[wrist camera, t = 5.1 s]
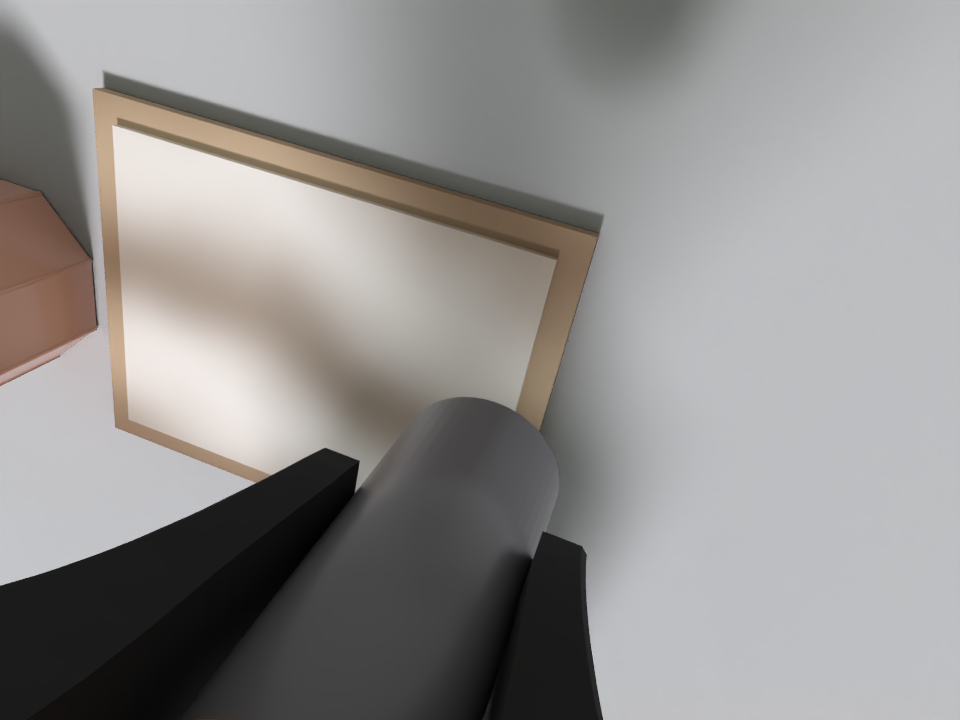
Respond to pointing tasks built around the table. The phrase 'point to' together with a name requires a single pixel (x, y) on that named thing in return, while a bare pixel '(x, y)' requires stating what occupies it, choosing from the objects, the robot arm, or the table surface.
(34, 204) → the pen cup
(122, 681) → the robot arm
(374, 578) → the marker
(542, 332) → the wooden picture frame
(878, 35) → the table surface
